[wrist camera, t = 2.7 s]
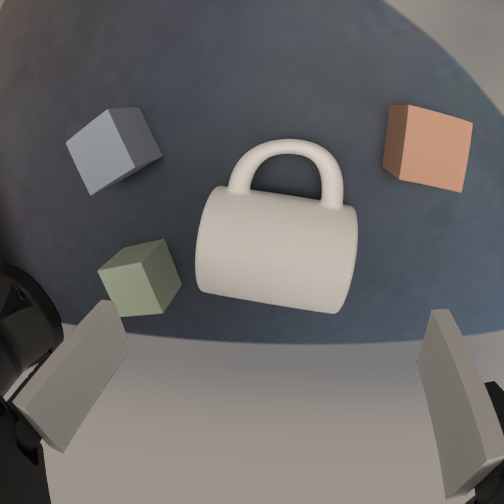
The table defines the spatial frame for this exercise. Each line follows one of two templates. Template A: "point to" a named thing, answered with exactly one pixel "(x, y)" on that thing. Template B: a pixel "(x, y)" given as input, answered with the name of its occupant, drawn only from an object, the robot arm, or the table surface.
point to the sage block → (141, 279)
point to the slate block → (113, 148)
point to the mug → (278, 237)
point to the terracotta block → (426, 147)
